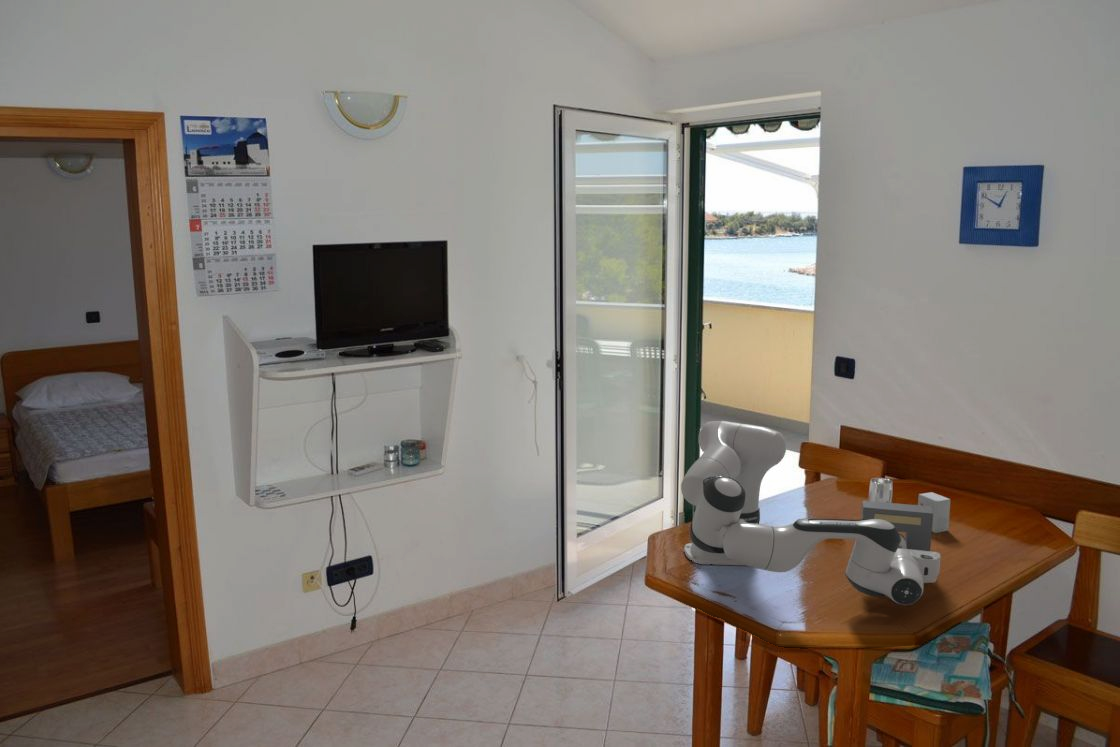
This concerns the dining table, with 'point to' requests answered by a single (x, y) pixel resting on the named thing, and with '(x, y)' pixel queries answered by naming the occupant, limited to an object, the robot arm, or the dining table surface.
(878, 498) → the beer glass
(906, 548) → the knob
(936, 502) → the small box
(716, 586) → the dining table surface
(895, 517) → the control block
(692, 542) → the robot arm
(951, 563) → the dining table surface
